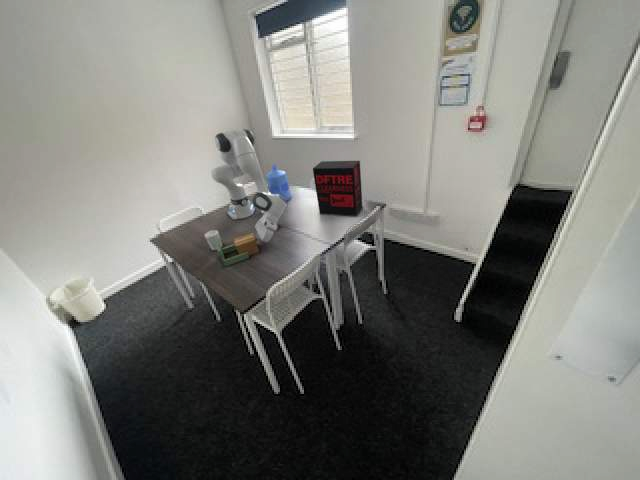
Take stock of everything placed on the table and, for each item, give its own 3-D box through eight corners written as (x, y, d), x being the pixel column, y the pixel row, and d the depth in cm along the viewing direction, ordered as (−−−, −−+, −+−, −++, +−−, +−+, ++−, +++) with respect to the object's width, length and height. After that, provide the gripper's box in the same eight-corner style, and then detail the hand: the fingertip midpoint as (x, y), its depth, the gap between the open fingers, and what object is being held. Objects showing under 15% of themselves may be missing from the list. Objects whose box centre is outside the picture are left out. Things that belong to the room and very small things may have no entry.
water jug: (271, 197, 218) (263, 164, 203) (289, 193, 220) (282, 160, 205) (273, 204, 205) (264, 169, 190) (292, 200, 207) (285, 165, 192)
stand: (245, 246, 158) (240, 231, 152) (249, 257, 146) (244, 243, 141) (221, 254, 154) (215, 239, 148) (224, 266, 142) (217, 251, 137)
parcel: (256, 244, 157) (252, 232, 152) (259, 252, 150) (255, 239, 145) (237, 251, 154) (233, 238, 149) (240, 258, 147) (235, 246, 142)
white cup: (212, 244, 164) (206, 231, 159) (224, 242, 164) (219, 229, 159) (209, 251, 158) (202, 238, 152) (221, 249, 158) (216, 235, 152)
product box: (319, 213, 180) (312, 168, 164) (327, 204, 191) (321, 161, 174) (356, 216, 170) (353, 168, 153) (362, 206, 181) (359, 160, 164)
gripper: (259, 212, 155) (248, 232, 158) (268, 226, 139) (255, 247, 141) (268, 217, 159) (257, 235, 161) (278, 230, 143) (265, 251, 145)
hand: (256, 241), depth 151 cm, fingers closed, pressing on parcel
